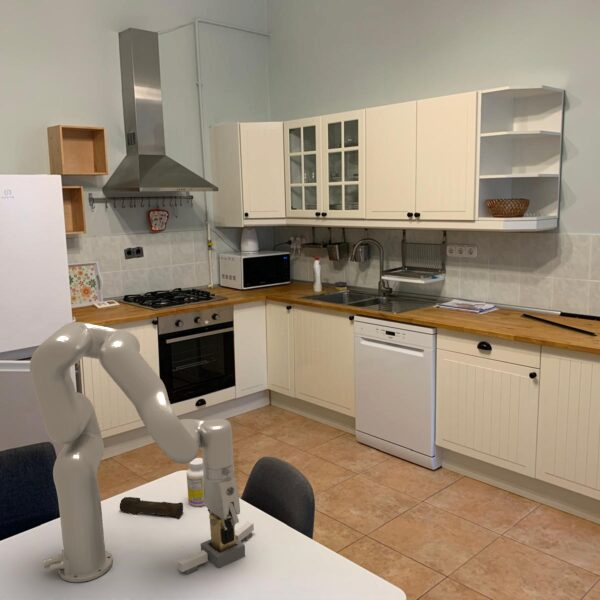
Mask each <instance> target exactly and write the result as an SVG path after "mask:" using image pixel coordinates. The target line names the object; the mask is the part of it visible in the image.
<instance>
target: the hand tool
mask: <svg viewBox="0 0 600 600" xmlns="http://www.w3.org/2000/svg"><path fill="white" fill-rule="evenodd" d="M119 511H120V512H123V513H125V512H126V514H130V513H131V514H130V515H135V514H136V515H139V514H148V515H159V516H168V517H169V516H170V517H176V518H177V519H180V518H181V517H182V515H183V514H184V513H183V511H184V503H183V502H177V503H176V502H169V501H167V502H166V501H151V500H141V497H133V496H125V497H123V498H122V499H121V500H120V502H119Z"/></svg>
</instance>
